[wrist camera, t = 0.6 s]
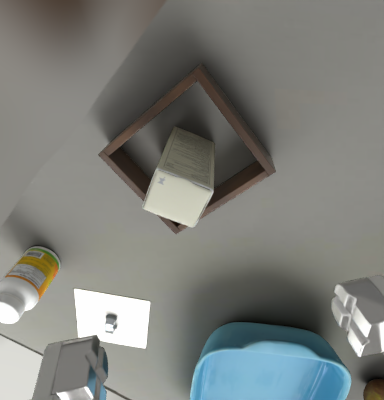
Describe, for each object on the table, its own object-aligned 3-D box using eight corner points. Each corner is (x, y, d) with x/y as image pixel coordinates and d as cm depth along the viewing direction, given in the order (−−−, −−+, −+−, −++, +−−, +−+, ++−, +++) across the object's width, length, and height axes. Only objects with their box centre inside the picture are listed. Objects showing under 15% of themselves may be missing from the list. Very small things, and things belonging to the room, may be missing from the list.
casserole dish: (296, 433, 63) (304, 477, 57) (187, 418, 65) (183, 460, 58) (354, 309, 45) (374, 355, 38) (199, 291, 46) (195, 333, 40)
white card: (150, 301, 48) (148, 309, 47) (145, 348, 54) (143, 356, 53) (74, 288, 48) (69, 295, 47) (78, 336, 54) (74, 344, 53)
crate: (201, 62, 30) (198, 67, 27) (271, 158, 35) (276, 171, 32) (108, 143, 36) (97, 154, 33) (179, 218, 40) (175, 234, 37)
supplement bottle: (46, 278, 48) (7, 333, 39) (18, 254, 46) (-29, 307, 38) (69, 264, 46) (33, 318, 37) (41, 239, 44) (-4, 290, 36)
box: (161, 158, 36) (137, 208, 26) (174, 124, 34) (153, 165, 24) (203, 175, 36) (194, 230, 27) (218, 143, 34) (215, 191, 25)
